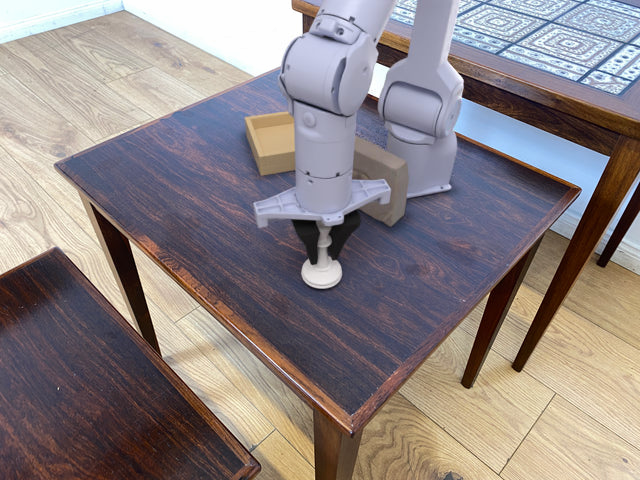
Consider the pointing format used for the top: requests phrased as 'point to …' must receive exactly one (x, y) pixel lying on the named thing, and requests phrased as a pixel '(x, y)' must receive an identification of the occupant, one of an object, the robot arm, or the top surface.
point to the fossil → (377, 166)
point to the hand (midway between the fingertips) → (322, 256)
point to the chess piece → (322, 263)
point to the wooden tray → (272, 141)
